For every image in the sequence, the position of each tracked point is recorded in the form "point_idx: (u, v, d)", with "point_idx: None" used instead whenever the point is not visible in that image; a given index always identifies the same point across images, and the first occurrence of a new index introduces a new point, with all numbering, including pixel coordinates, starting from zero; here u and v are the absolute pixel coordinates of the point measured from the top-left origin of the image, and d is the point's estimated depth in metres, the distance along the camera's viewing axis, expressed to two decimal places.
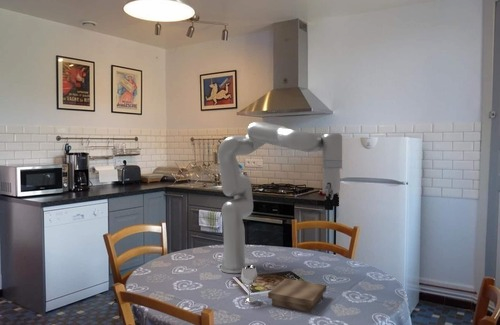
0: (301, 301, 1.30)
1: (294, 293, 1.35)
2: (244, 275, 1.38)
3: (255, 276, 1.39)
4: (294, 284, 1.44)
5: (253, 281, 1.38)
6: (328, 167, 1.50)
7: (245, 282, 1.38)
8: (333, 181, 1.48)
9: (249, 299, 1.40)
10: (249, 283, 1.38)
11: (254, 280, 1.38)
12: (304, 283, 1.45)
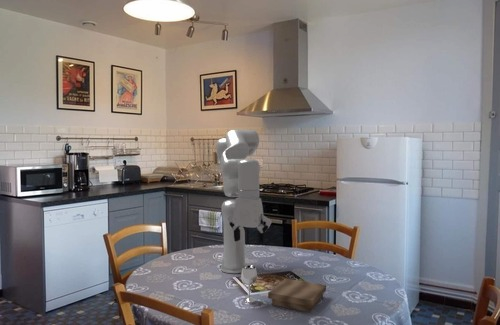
0: (301, 301, 1.30)
1: (294, 293, 1.35)
2: (244, 275, 1.38)
3: (255, 276, 1.39)
4: (294, 284, 1.44)
5: (253, 281, 1.38)
6: (257, 197, 1.37)
7: (245, 282, 1.38)
8: (262, 211, 1.38)
9: (249, 299, 1.40)
10: (249, 283, 1.38)
11: (254, 280, 1.38)
12: (304, 283, 1.45)
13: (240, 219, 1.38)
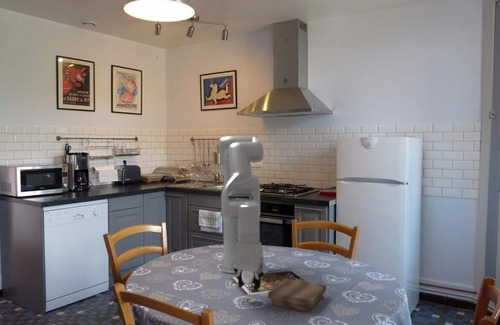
0: (301, 301, 1.30)
1: (294, 293, 1.35)
2: (244, 275, 1.38)
3: None
4: (294, 284, 1.44)
5: (253, 281, 1.38)
6: (257, 242, 1.38)
7: (245, 282, 1.38)
8: None
9: (249, 299, 1.40)
10: (249, 283, 1.38)
11: None
12: (304, 283, 1.45)
13: (240, 263, 1.38)
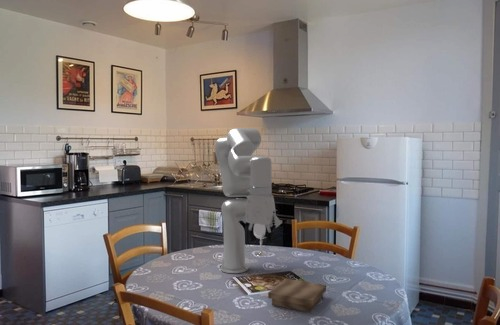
0: (301, 301, 1.30)
1: (294, 293, 1.35)
2: (256, 229, 1.37)
3: None
4: (294, 284, 1.44)
5: (265, 234, 1.37)
6: (269, 194, 1.36)
7: (257, 235, 1.37)
8: None
9: (261, 253, 1.39)
10: (261, 236, 1.37)
11: None
12: (304, 283, 1.45)
13: (252, 216, 1.38)
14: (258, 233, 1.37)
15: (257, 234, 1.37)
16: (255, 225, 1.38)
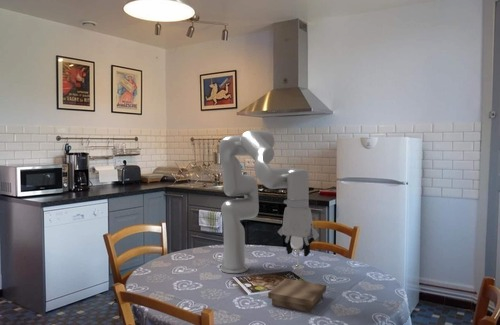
0: (301, 301, 1.30)
1: (294, 293, 1.35)
2: (293, 241, 1.36)
3: (304, 242, 1.37)
4: (294, 284, 1.44)
5: (303, 247, 1.36)
6: (307, 207, 1.36)
7: (295, 248, 1.36)
8: None
9: (298, 266, 1.38)
10: (299, 249, 1.36)
11: None
12: (304, 283, 1.45)
13: (290, 229, 1.37)
14: (296, 246, 1.36)
15: (295, 247, 1.36)
16: (292, 238, 1.37)
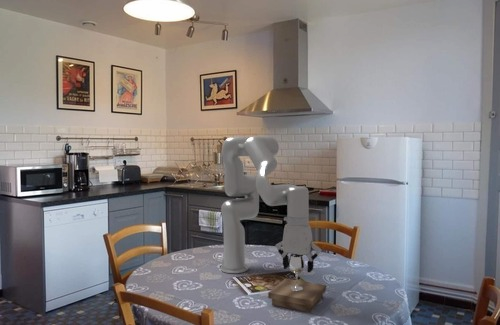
0: (301, 301, 1.30)
1: (294, 293, 1.35)
2: (292, 263, 1.37)
3: (303, 264, 1.38)
4: (294, 284, 1.44)
5: (301, 269, 1.37)
6: (307, 225, 1.36)
7: (293, 270, 1.37)
8: None
9: (297, 287, 1.39)
10: (298, 271, 1.37)
11: (302, 268, 1.37)
12: (304, 283, 1.45)
13: (289, 246, 1.37)
14: (295, 268, 1.37)
15: (294, 269, 1.37)
16: (291, 260, 1.37)
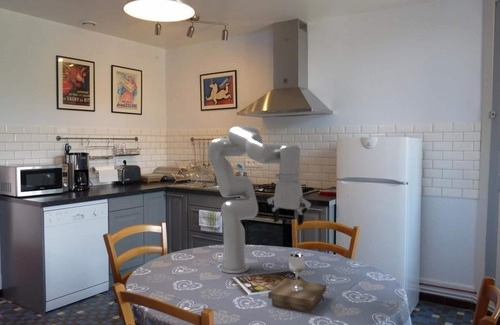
0: (301, 301, 1.30)
1: (294, 293, 1.35)
2: (292, 263, 1.37)
3: (303, 264, 1.38)
4: (294, 284, 1.44)
5: (301, 269, 1.37)
6: (297, 181, 1.44)
7: (293, 270, 1.37)
8: None
9: (297, 287, 1.39)
10: (298, 271, 1.37)
11: (302, 268, 1.37)
12: (304, 283, 1.45)
13: (280, 201, 1.45)
14: (295, 268, 1.37)
15: (294, 269, 1.37)
16: (291, 260, 1.37)
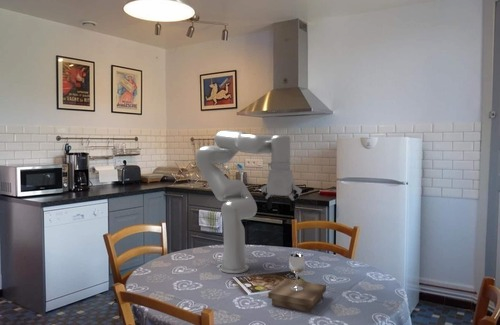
0: (301, 301, 1.30)
1: (294, 293, 1.35)
2: (292, 263, 1.37)
3: (303, 264, 1.38)
4: (294, 284, 1.44)
5: (302, 269, 1.37)
6: (288, 169, 1.52)
7: (293, 270, 1.37)
8: (293, 181, 1.54)
9: (297, 287, 1.39)
10: (298, 271, 1.37)
11: (302, 268, 1.37)
12: (304, 283, 1.45)
13: (273, 188, 1.53)
14: (295, 268, 1.37)
15: (294, 269, 1.37)
16: (292, 260, 1.37)
